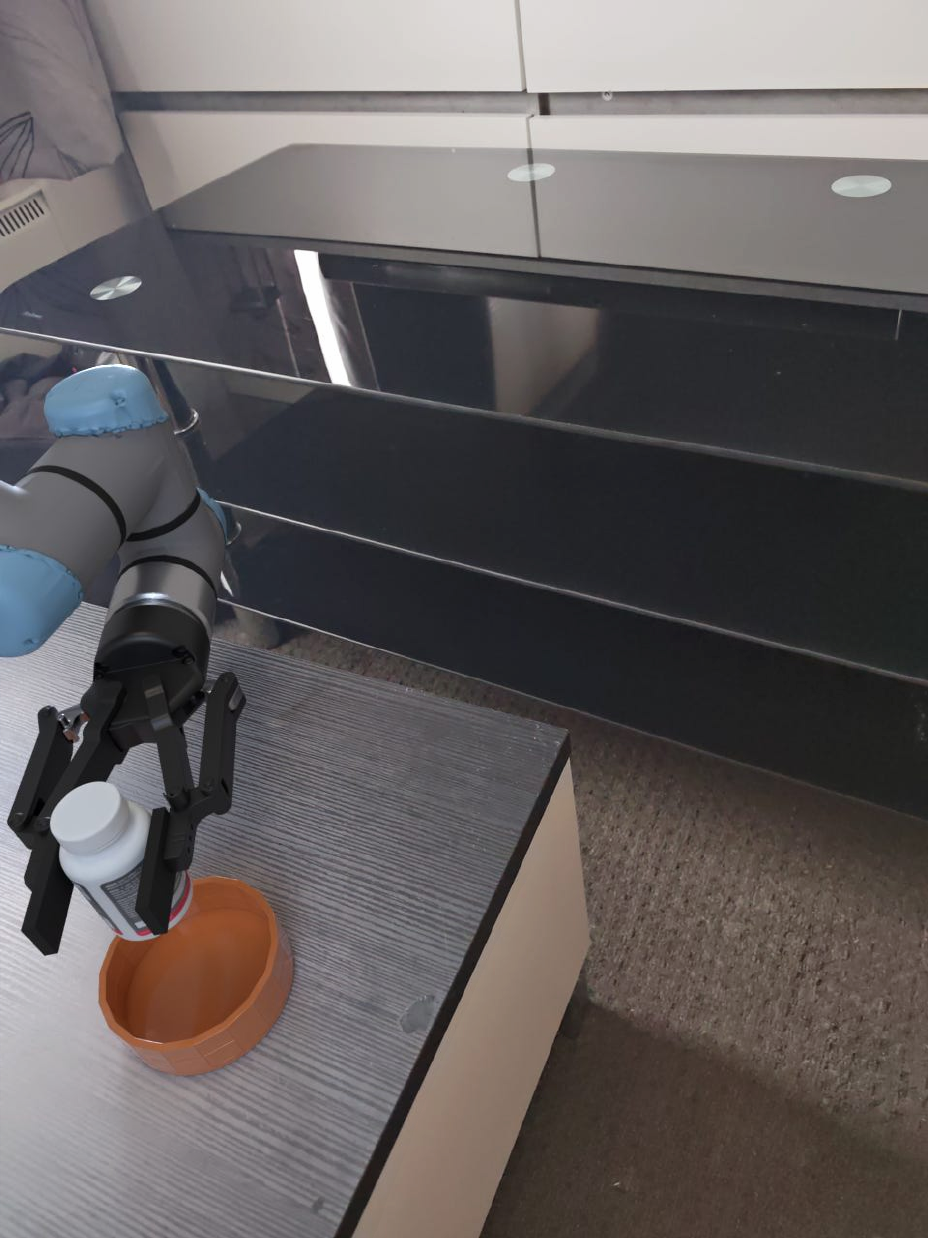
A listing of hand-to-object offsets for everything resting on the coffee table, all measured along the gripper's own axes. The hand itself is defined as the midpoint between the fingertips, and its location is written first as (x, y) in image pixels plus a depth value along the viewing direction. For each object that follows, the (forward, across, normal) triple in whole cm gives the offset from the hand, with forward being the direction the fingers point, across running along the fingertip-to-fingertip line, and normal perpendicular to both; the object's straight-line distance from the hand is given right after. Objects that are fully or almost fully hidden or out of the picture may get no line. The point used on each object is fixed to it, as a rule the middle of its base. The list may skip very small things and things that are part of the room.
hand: (95, 931), depth 49 cm
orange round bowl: (-5, 0, -16) cm, 17 cm away
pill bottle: (-5, 0, -6) cm, 8 cm away
